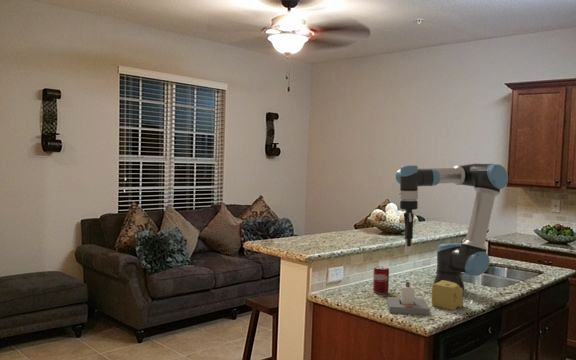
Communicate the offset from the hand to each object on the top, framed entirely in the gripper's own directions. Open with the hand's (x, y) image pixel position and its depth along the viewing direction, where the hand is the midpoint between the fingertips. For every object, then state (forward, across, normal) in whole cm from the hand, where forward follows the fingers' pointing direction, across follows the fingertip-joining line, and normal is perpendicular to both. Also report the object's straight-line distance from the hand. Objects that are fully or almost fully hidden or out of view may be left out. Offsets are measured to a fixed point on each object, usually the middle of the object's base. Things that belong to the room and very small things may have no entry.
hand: (408, 253), depth 227 cm
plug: (+22, +7, -1) cm, 24 cm away
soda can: (+23, -19, -11) cm, 32 cm away
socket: (+23, +8, -1) cm, 24 cm away
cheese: (+24, 0, +17) cm, 29 cm away
